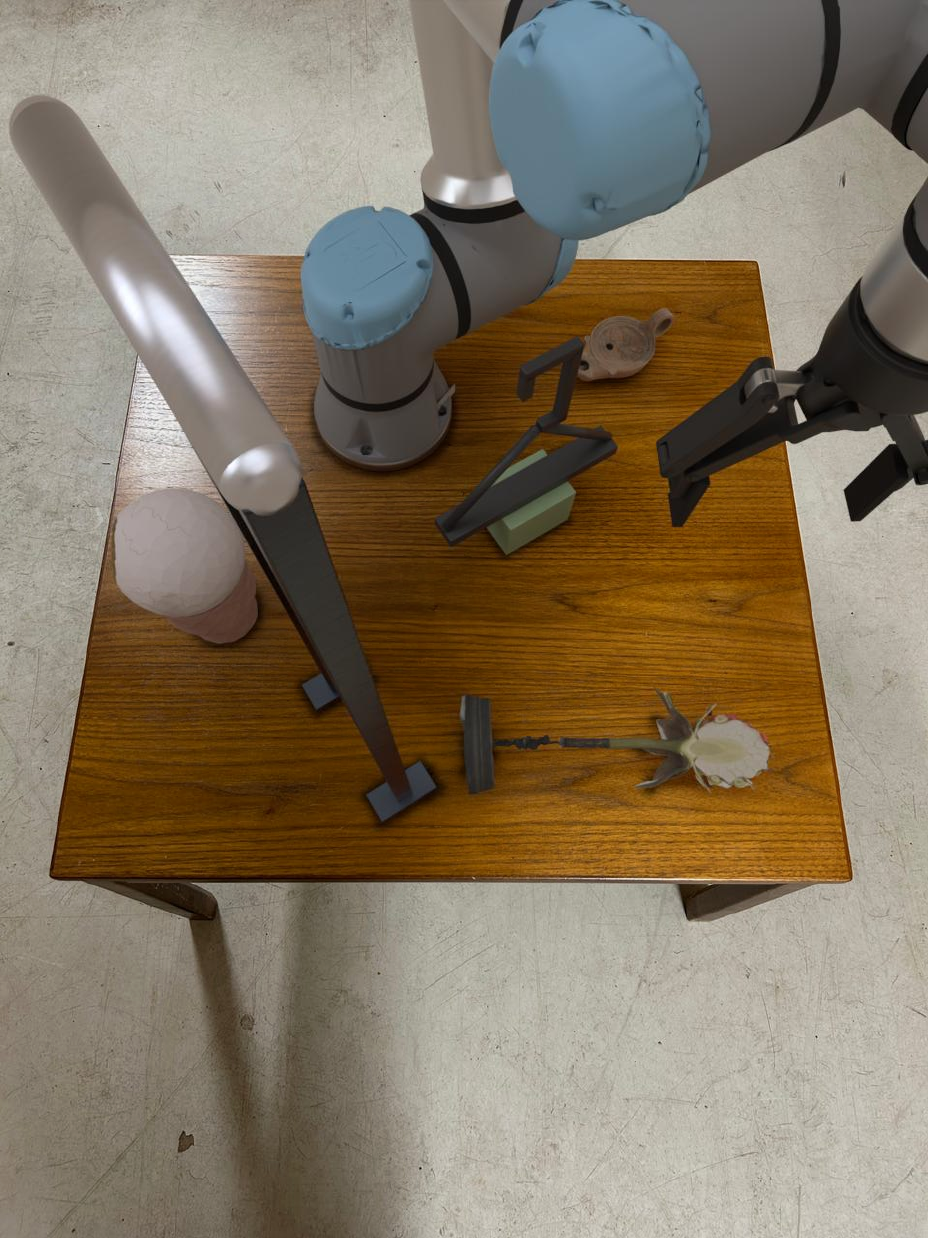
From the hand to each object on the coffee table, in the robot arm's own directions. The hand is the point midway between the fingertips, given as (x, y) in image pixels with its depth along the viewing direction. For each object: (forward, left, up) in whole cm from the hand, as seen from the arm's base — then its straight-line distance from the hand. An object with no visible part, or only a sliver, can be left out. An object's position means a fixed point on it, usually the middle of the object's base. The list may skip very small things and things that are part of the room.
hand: (763, 508), depth 59 cm
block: (-18, -8, -23) cm, 30 cm away
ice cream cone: (-25, -40, -23) cm, 52 cm away
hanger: (-18, -8, -17) cm, 26 cm away
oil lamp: (-29, +13, -23) cm, 39 cm away
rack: (-6, -34, -23) cm, 41 cm away
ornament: (+7, -15, -23) cm, 28 cm away
